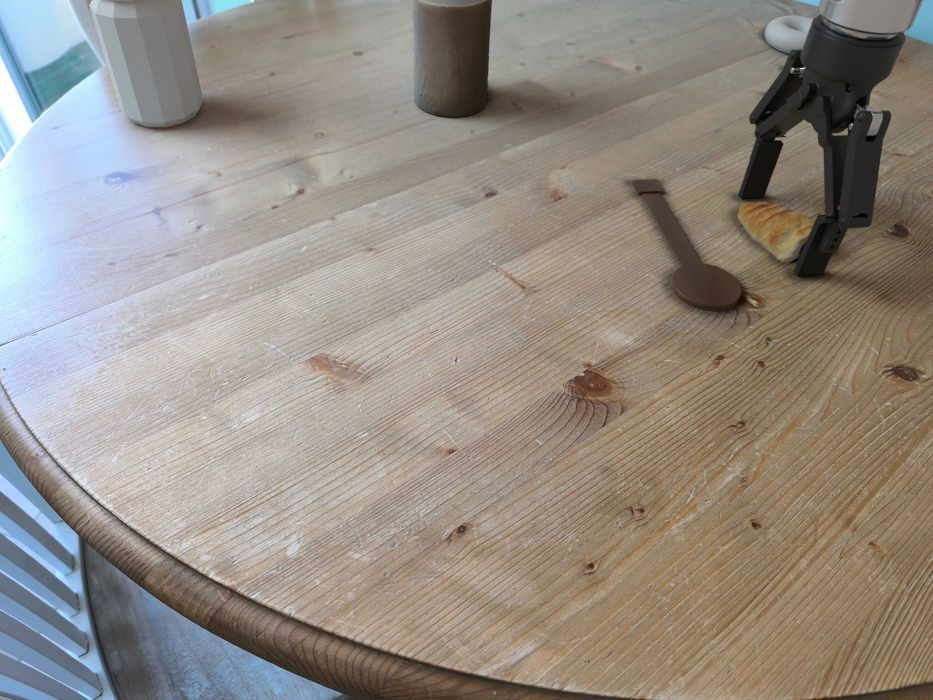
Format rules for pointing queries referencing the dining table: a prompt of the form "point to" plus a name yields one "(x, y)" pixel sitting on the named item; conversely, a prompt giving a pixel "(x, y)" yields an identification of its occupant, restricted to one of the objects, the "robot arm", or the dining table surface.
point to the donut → (788, 32)
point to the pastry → (776, 228)
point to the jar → (149, 59)
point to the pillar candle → (451, 55)
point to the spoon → (689, 259)
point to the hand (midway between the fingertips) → (777, 232)
